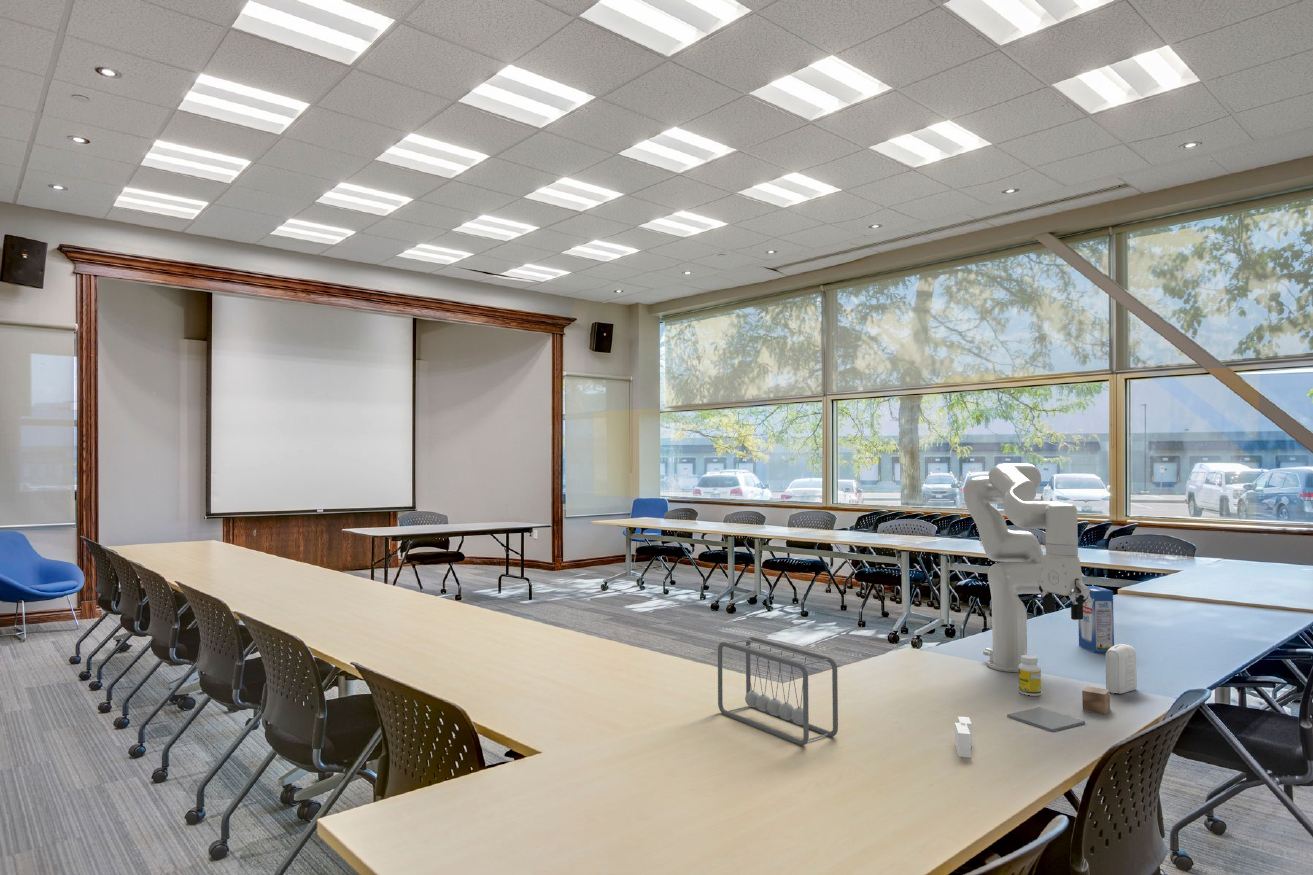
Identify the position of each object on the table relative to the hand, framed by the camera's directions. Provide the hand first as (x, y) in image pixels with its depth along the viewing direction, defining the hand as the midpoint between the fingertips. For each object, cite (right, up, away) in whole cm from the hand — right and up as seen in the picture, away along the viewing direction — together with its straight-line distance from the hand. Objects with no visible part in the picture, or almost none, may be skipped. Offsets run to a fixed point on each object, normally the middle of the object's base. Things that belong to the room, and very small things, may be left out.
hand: (1062, 615), depth 204 cm
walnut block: (+2, -21, -11) cm, 24 cm away
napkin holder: (-40, -21, -36) cm, 58 cm away
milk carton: (+38, -23, +52) cm, 68 cm away
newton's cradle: (-79, -21, -21) cm, 85 cm away
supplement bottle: (-7, -22, +3) cm, 23 cm away
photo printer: (+19, -22, +5) cm, 29 cm away
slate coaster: (-14, -21, -19) cm, 31 cm away
